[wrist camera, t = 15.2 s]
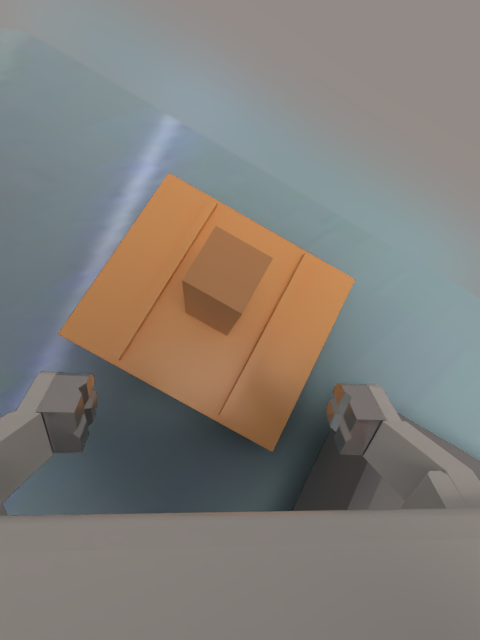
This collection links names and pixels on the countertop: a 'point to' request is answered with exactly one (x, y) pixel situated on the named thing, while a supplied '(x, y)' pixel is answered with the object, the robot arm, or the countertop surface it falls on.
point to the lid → (212, 311)
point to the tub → (358, 479)
